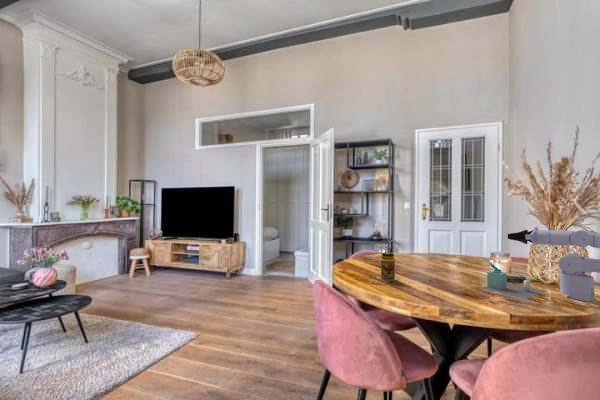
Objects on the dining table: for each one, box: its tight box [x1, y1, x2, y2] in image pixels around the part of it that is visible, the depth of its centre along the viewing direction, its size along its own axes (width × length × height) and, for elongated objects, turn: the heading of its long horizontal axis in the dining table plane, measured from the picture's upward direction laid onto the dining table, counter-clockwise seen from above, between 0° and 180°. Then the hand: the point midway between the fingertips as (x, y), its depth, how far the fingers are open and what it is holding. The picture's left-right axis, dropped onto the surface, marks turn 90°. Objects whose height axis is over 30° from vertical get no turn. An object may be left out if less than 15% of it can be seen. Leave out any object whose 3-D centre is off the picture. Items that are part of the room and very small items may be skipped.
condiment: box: [374, 252, 400, 282], centre depth 142 cm, size 7×8×12 cm
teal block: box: [486, 270, 508, 290], centre depth 124 cm, size 5×5×6 cm
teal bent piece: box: [488, 262, 509, 280], centre depth 142 cm, size 11×6×10 cm
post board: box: [480, 279, 546, 300], centre depth 121 cm, size 16×18×5 cm
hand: (511, 236), depth 131 cm, fingers open, 7 cm apart
